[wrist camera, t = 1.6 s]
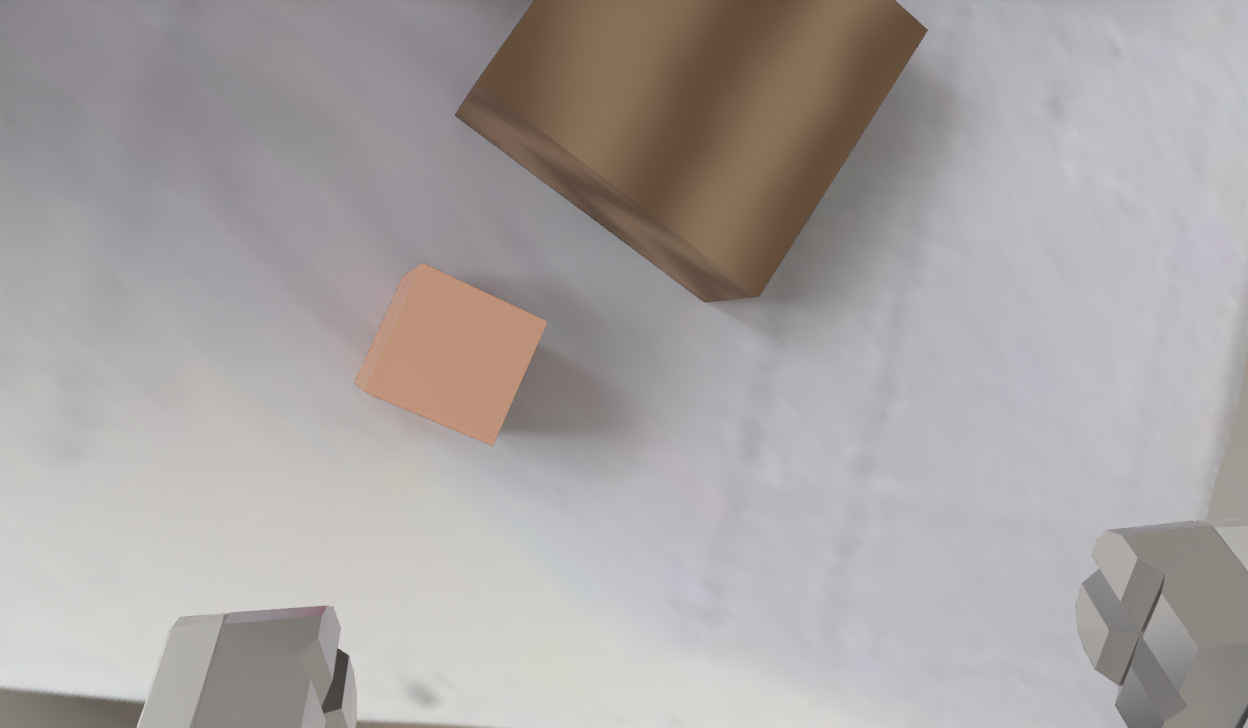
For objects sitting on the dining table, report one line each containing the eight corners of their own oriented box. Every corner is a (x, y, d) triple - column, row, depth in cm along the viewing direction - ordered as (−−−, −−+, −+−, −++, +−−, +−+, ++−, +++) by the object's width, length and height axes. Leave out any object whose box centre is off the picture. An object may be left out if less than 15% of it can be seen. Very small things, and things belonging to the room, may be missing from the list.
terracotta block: (354, 383, 43) (363, 391, 36) (403, 275, 43) (422, 262, 36) (462, 429, 44) (492, 446, 37) (509, 324, 45) (547, 321, 38)
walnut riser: (454, 115, 44) (477, 81, 38) (629, -131, 46) (675, -199, 40) (704, 302, 47) (758, 296, 42) (856, 66, 49) (927, 30, 44)
